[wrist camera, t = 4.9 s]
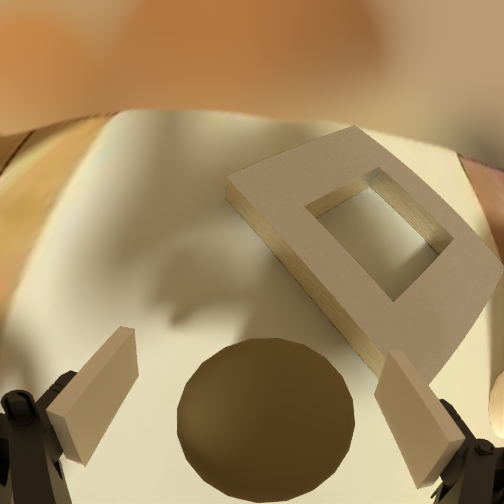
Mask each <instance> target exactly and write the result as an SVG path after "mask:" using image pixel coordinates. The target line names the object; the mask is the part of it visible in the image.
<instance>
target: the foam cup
mask: <svg viewBox="0 0 504 504" xmlns="http://www.w3.org/2000/svg"><path fill="white" fill-rule="evenodd" d="M489 415H490V422H491V426H492V428H493V430H494V431H495V433H496V435H497V436H498V437H500V438H503V439H504V371H503V372H502V373H501V374H500V375H499V376H498V377H497V378H496V380H495V383H494V385H493V388H492V390H491V393H490V402H489Z"/></svg>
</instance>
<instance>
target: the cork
mask: <svg viewBox="0 0 504 504" xmlns="http://www.w3.org/2000/svg"><path fill="white" fill-rule="evenodd" d="M354 427H355V419H354V408H353V399H352V397H351V395H350V393H349V390H348V388H347V386H346V384H345V381H344V379H343V377H342V376H341V375H340V374H339V372H338V371H337V370H336V369H335V368H334V367H333V366H332V365H331V364H330V362H329V361H328V360H327V359H326V358H325V357H323V356H321V355H320V354H318V353H316V352H315V351H313V350H311V349H310V348H308V347H306V346H305V345H302V344H298V343H294V342H290V341H287V340H283V339H279V338H269V339H249V340H246V341H243V342H240V343H237V344H234V345H231V346H228V347H225V348H223V349H222V350H221V351H219V352H218V353H216V354H215V355H213V356H212V357H210V358H209V359H207V360H206V361H205V362H203V363H202V364H201V365H200V367H199V368H198V369H197V370H196V372H195V373H194V374H193V375H192V377H191V378H190V379H189V381H188V382H187V383H186V385H185V388H184V391H183V394H182V396H181V399H180V402H179V405H178V408H177V435H178V438H179V441H180V444H181V447H182V449H183V452H184V455H185V457H186V460H187V461H188V462H189V464H190V465H191V466H192V467H193V469H194V470H195V471H196V472H197V473H198V475H199V476H200V477H201V478H202V479H203V481H205V482H206V483H208V484H209V485H211V486H213V487H214V488H216V489H217V490H219V491H221V492H222V493H224V494H226V495H227V496H231V497H234V498H238V499H242V500H247V501H251V502H256V503H265V502H279V501H287V500H290V499H293V498H295V497H298V496H300V495H303V494H305V493H308V492H310V491H312V490H314V489H315V488H317V487H318V486H319V485H320V484H322V483H323V482H324V481H325V480H326V479H328V478H329V477H330V476H331V475H332V474H334V473H335V471H336V470H337V468H338V467H339V465H340V464H341V462H342V460H343V459H344V457H345V456H346V454H347V452H348V451H349V448H350V444H351V440H352V436H353V432H354Z"/></svg>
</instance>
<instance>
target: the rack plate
mask: <svg viewBox="0 0 504 504" xmlns="http://www.w3.org/2000/svg"><path fill="white" fill-rule="evenodd" d="M368 187H371V188H373V189H374V190H375V191H376V192H377V193H378V194H379V195H380V196H381V197H382V198H383V199H385V200H386V201H387V202H388V203H389V204H390V205H391V206H392V207H393V208H394V209H395V210H396V211H397V212H398V213H399V214H400V215H401V216H402V217H403V218H404V219H405V220H406V221H407V222H408V223H409V224H410V225H411V226H412V227H413V228H414V229H415V230H416V231H417V232H418V233H419V234H420V235H421V236H422V237H423V238H424V239H425V240H426V241H427V242H428V243H429V244H430V245H431V246H432V247H433V248H434V250H435V251H436V252H437V253H438V254H439V256H438V257H437V258H436V259H435V260H434V262H433V263H432V264H431V265H430V266H429V267H428V268H427V269H426V270H425V271H424V272H423V273H422V274H421V275H420V276H419V277H418V278H417V279H416V280H415V281H414V282H413V283H412V284H411V285H410V286H409V287H408V288H407V289H406V290H405V291H404V292H403V293H402V294H401V295H400V296H399V297H398V298H397V299H396V300H395V301H394V302H393V301H392V300H391V299H390V298H389V297H388V295H387V294H386V293H385V292H384V291H383V290H382V289H381V287H380V286H379V285H378V284H377V283H376V282H375V281H374V280H373V278H372V277H371V276H370V275H369V274H368V273H367V272H366V271H365V270H364V269H363V267H362V266H361V265H360V264H359V263H358V262H357V261H356V260H355V259H354V258H353V257H352V256H351V254H350V253H349V252H348V251H347V250H346V249H345V248H344V247H343V246H342V245H341V244H340V243H339V242H338V241H337V240H336V239H335V238H334V237H333V235H332V234H331V233H330V232H329V231H328V230H327V229H326V228H325V227H324V226H323V225H322V224H321V223H320V222H319V221H318V220H317V219H316V217H317V216H319V215H321V214H323V213H324V212H326V211H328V210H330V209H331V208H333V207H335V206H337V205H338V204H340V203H342V202H344V201H345V200H347V199H349V198H351V197H352V196H354V195H356V194H358V193H359V192H361V191H363V190H365V189H366V188H368ZM226 199H227V200H228V201H229V202H230V203H231V204H232V206H233V207H234V208H235V209H236V210H237V211H238V213H239V214H240V215H241V216H242V217H243V218H244V219H245V221H246V222H247V223H248V224H249V225H250V226H251V228H252V229H253V230H254V231H255V232H256V233H257V235H258V236H259V237H260V238H261V239H262V240H263V242H264V243H265V244H266V245H267V246H268V247H269V249H270V250H271V251H272V252H273V253H274V254H275V256H276V257H277V258H278V259H279V260H280V261H281V263H282V264H283V265H284V266H285V267H286V269H287V270H288V271H289V272H290V273H291V274H292V276H293V277H294V278H295V279H296V280H297V282H298V283H299V284H300V285H301V286H302V287H303V289H304V290H305V291H306V292H307V293H308V295H309V296H310V297H311V298H312V299H313V301H314V302H315V303H316V304H317V305H318V306H319V308H320V309H321V310H322V311H323V312H324V314H325V315H326V316H327V317H328V318H329V320H330V321H331V322H332V323H333V324H334V326H335V327H336V328H337V329H338V330H339V332H340V333H341V334H342V335H343V336H344V338H345V339H346V340H347V341H348V342H349V344H350V345H351V346H352V347H353V349H354V350H355V351H356V352H357V353H358V355H359V356H360V357H361V358H362V359H363V361H364V362H365V363H366V364H367V365H368V367H369V368H370V369H371V370H372V372H373V373H374V374H375V375H376V376H377V378H378V379H380V376H381V373H382V370H383V367H384V364H385V361H386V357H387V354H388V351H397V350H402V351H403V353H404V354H405V355H406V357H407V358H408V359H409V360H410V362H411V363H412V364H413V366H414V367H415V368H416V370H417V371H418V372H419V374H420V375H421V376H422V378H423V379H424V380H425V382H426V383H427V384H428V385H429V384H430V382H431V381H432V380H433V379H434V378H435V376H436V375H437V374H438V373H439V371H440V370H441V369H442V368H443V366H444V365H445V364H446V362H447V361H448V360H449V358H450V357H451V356H452V354H453V353H454V352H455V350H456V349H457V348H458V346H459V345H460V343H461V342H462V341H463V339H464V338H465V336H466V335H467V333H468V332H469V330H470V329H471V327H472V326H473V324H474V323H475V321H476V320H477V318H478V317H479V315H480V313H481V312H482V310H483V309H484V307H485V305H486V304H487V302H488V300H489V299H490V297H491V295H492V293H493V292H494V290H495V288H496V286H497V284H498V283H499V281H500V279H501V277H502V275H503V273H504V265H503V264H502V263H501V261H500V260H499V259H498V258H497V257H496V255H495V254H494V253H493V252H492V251H491V250H490V248H489V247H488V246H487V245H486V244H485V243H484V241H483V240H482V239H481V238H480V237H479V236H478V235H477V234H476V233H475V231H474V230H473V229H472V228H471V227H470V226H469V225H468V224H467V223H466V222H465V221H464V220H463V219H462V218H461V217H460V216H459V215H458V214H457V213H456V212H455V211H454V210H453V208H452V207H450V206H449V205H448V204H447V203H446V202H445V201H444V200H443V199H442V198H441V197H440V196H439V195H438V194H437V193H436V192H435V191H434V190H433V189H432V188H431V187H430V186H429V185H427V184H426V183H425V182H424V181H423V180H422V179H421V178H420V177H419V176H417V175H416V174H415V173H414V172H413V171H412V170H411V169H409V168H408V167H407V166H406V165H405V164H404V163H402V162H401V161H400V160H399V159H398V158H396V157H395V156H394V155H393V154H391V153H390V152H389V151H388V150H387V149H385V148H384V147H383V146H381V145H380V144H379V143H378V142H376V141H375V140H374V139H372V138H371V137H370V136H369V135H367V134H366V133H365V132H363V131H362V130H360V129H359V128H358V127H356V126H355V125H354V126H352V127H349V128H346V129H343V130H340V131H337V132H334V133H332V134H329V135H326V136H323V137H321V138H318V139H315V140H313V141H310V142H307V143H305V144H302V145H300V146H297V147H294V148H292V149H289V150H287V151H284V152H282V153H279V154H277V155H274V156H272V157H269V158H267V159H264V160H262V161H260V162H257V163H255V164H253V165H250V166H248V167H245V168H243V169H241V170H239V171H236V172H234V173H232V174H229V175H227V176H226Z"/></svg>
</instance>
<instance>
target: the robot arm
mask: <svg viewBox="0 0 504 504" xmlns="http://www.w3.org/2000/svg"><path fill="white" fill-rule="evenodd" d="M138 376H139V374H138V365H137V354H136V343H135V329H132V328H127V327H122V326H120V327H119V328H118V329H117V330H116V331H115V332H114V333H113V335H112V336H111V337H110V338H109V339H108V340H107V341H106V342H105V343H104V344H103V345H102V346H101V348H100V349H99V350H98V351H97V352H96V353H95V354H94V355H93V356H92V357H91V359H90V360H89V361H88V362H87V363H86V364H85V365H84V366H83V367H82V369H81V370H80V371H79V372H78V373H77V372H74V371H71V370H70V371H69V372H67V373H65V374H63V375H61V376H60V377H59V378H58V379H57V380H56V381H55V382H54V384H52V385H51V386H50V388H49V390H47V391H46V392H45V393H44V394H43V395H42V396H41V397H40V398H39V400H38V401H37V402H36V403H35V402H34V399H33V396H32V395H31V394H30V393H29V392H27V391H24V390H13V391H10V392H8V393H6V394H5V395H4V396H3V397H2V399H1V405H2V407H3V409H4V412H5V414H3V413H0V504H11V495H12V491H13V498H14V504H72V501H71V498H70V495H69V491H68V488H67V484H66V481H65V477H64V473H63V469H62V464H61V462H60V460H59V458H60V456H61V455H62V453H64V455H65V457H66V459H67V461H68V462H71V463H73V464H76V465H78V466H81V467H83V468H85V467H86V465H87V463H88V461H89V460H90V458H91V456H92V454H93V452H94V451H95V449H96V447H97V445H98V444H99V442H100V440H101V438H102V437H103V435H104V433H105V432H106V430H107V428H108V426H109V425H110V423H111V421H112V419H113V418H114V416H115V414H116V413H117V411H118V409H119V408H120V406H121V404H122V402H123V401H124V399H125V397H126V396H127V394H128V392H129V391H130V389H131V387H132V386H133V384H134V382H135V381H136V379H137V377H138ZM374 396H375V398H376V400H377V402H378V404H379V406H380V408H381V411H382V413H383V415H384V417H385V419H386V421H387V423H388V425H389V427H390V430H391V432H392V434H393V436H394V438H395V440H396V443H397V445H398V447H399V449H400V451H401V454H402V456H403V458H404V460H405V462H406V465H407V467H408V469H409V472H410V474H411V476H412V478H413V481H414V483H415V485H416V488H417V489H419V488H423V487H427V486H431V485H433V484H434V483H435V481H436V480H437V479H438V477H439V476H440V477H441V479H442V481H443V482H442V483H441V484H440V486H439V487H438V488H437V489H436V491H435V492H434V493H433V494H432V496H431V497H430V498H433V497H434V496H435V495H436V494H437V495H436V498H435V501H434V503H433V504H504V447H500V448H495V447H494V445H493V444H492V443H491V442H489V441H488V440H485V439H476V438H475V437H474V435H473V434H472V432H471V431H470V430H469V428H468V427H467V425H466V424H465V423H464V421H463V420H461V417H460V416H459V414H457V412H456V410H455V409H454V408H453V406H452V405H451V404H449V403H448V402H447V401H445V400H444V399H438V398H437V397H436V395H435V394H434V393H433V391H432V390H431V388H430V387H429V386H428V384H427V383H426V382H425V380H424V379H423V378H422V376H421V375H420V374H419V372H418V371H417V370H416V368H415V367H414V366H413V364H412V363H411V362H410V360H409V359H408V358H407V357H406V355H405V354H404V353H403V351H402V350H397V351H388V354H387V357H386V361H385V364H384V367H383V370H382V373H381V376H380V379H379V382H378V384H377V387H376V390H375V393H374Z"/></svg>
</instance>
